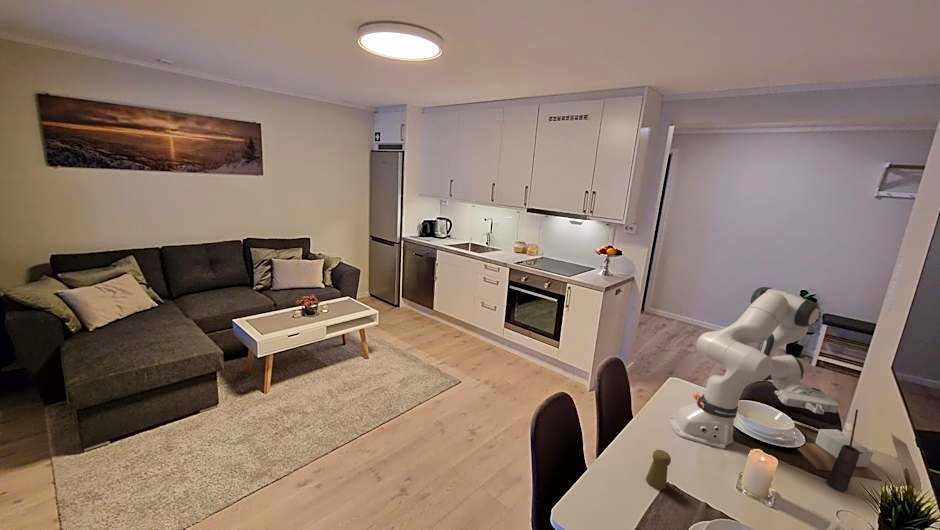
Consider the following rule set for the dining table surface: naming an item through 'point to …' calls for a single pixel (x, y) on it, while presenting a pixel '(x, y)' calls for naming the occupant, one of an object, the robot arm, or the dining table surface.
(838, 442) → the small box
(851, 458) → the butter churn
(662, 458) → the olive pepper mill
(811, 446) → the walnut mat
